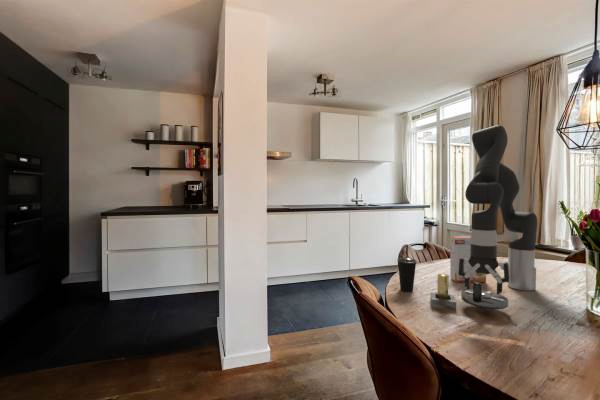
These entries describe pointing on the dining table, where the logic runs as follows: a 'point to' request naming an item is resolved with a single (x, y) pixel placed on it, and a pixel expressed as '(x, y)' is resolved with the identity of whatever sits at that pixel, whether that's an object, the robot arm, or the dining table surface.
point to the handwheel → (484, 298)
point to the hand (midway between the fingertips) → (482, 291)
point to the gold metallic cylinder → (443, 286)
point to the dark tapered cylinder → (406, 272)
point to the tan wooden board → (464, 309)
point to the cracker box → (458, 250)
